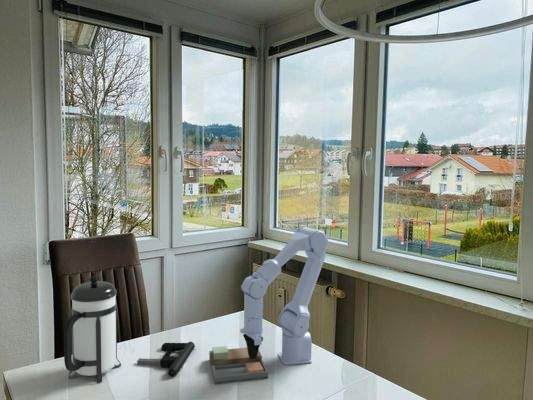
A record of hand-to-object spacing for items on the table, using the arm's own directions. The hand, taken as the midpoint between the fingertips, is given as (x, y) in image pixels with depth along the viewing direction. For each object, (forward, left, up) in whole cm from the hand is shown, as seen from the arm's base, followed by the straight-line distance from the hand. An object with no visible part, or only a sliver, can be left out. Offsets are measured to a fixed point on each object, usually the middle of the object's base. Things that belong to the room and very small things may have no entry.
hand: (252, 357), depth 128 cm
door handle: (+26, -11, -4) cm, 29 cm away
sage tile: (+10, -5, -1) cm, 11 cm away
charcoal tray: (+5, +2, -4) cm, 6 cm away
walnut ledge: (+5, -5, -4) cm, 8 cm away
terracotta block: (0, +3, -1) cm, 4 cm away
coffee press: (+48, -7, -4) cm, 48 cm away
